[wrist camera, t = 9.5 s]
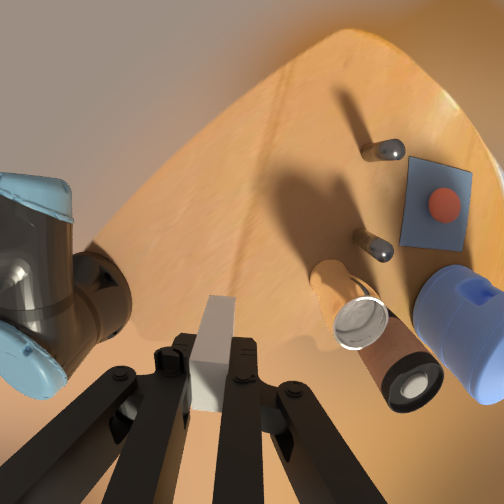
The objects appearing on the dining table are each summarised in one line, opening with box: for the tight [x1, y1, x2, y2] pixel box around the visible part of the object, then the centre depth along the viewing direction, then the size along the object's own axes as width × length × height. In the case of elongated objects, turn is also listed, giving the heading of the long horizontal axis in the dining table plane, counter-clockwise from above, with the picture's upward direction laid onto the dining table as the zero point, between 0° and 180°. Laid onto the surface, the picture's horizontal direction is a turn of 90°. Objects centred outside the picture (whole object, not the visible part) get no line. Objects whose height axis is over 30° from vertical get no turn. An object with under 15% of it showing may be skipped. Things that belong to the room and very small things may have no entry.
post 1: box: [361, 139, 405, 162], centre depth 36 cm, size 3×3×9 cm
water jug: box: [413, 265, 504, 405], centre depth 33 cm, size 16×16×28 cm
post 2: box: [352, 229, 394, 263], centre depth 39 cm, size 3×3×9 cm
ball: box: [428, 188, 461, 223], centre depth 39 cm, size 6×6×6 cm
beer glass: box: [310, 259, 389, 350], centre depth 37 cm, size 7×7×15 cm
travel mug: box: [357, 308, 444, 413], centre depth 37 cm, size 8×8×20 cm
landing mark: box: [399, 157, 472, 252], centre depth 42 cm, size 14×14×1 cm
